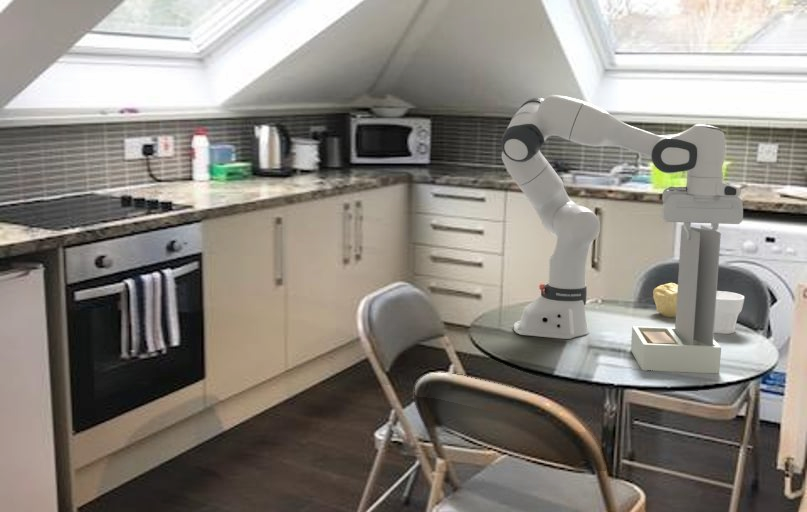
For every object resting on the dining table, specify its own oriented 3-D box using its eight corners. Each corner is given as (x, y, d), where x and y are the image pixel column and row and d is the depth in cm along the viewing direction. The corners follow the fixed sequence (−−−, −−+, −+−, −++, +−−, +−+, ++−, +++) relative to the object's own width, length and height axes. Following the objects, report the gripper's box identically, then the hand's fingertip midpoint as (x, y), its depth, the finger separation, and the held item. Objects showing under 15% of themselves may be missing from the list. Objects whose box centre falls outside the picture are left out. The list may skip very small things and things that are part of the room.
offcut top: (652, 355, 229) (653, 342, 228) (641, 343, 240) (642, 331, 239) (675, 356, 229) (675, 343, 228) (663, 344, 240) (664, 331, 239)
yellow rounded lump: (646, 312, 288) (648, 280, 286) (678, 310, 291) (680, 278, 289) (665, 320, 277) (667, 287, 275) (698, 318, 280) (700, 286, 278)
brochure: (712, 346, 226) (720, 233, 220) (691, 346, 226) (699, 233, 220) (694, 332, 240) (701, 224, 234) (674, 332, 240) (681, 224, 234)
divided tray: (642, 370, 226) (643, 344, 225) (630, 350, 244) (632, 326, 243) (719, 373, 224) (721, 347, 223) (702, 352, 242) (704, 328, 241)
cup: (703, 322, 275) (706, 288, 273) (744, 328, 269) (748, 293, 267) (694, 331, 264) (697, 296, 262) (737, 337, 258) (740, 301, 256)
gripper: (665, 187, 223) (661, 240, 226) (747, 189, 221) (742, 243, 224) (660, 185, 229) (657, 236, 232) (740, 187, 227) (735, 239, 230)
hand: (699, 239), depth 228 cm, fingers closed on brochure, 3 cm apart
